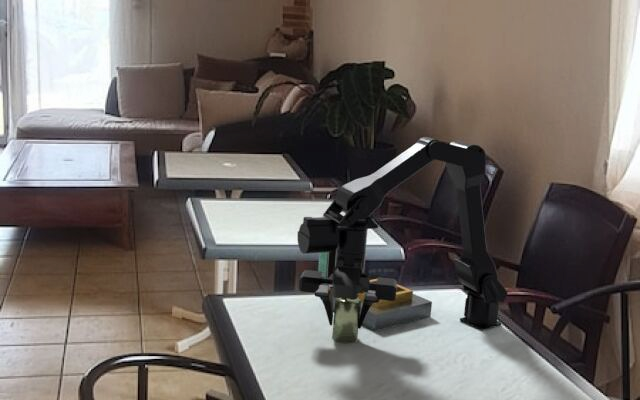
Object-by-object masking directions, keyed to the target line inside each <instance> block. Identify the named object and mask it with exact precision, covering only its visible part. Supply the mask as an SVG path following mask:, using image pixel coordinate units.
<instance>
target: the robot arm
mask: <svg viewBox="0 0 640 400" xmlns="http://www.w3.org/2000/svg"><path fill="white" fill-rule="evenodd" d="M433 161H440V162H443V163H445V165H446V170H447V173H448V174H449V176H450V178H451V179H452V182H453V183H454V185H455V188H456V189H455V190H456V198H457V199H456V200H457V207H458V215H459V227H460V234H461V235H460V236H461V243H462V252H461V254H460V257H458V258H454V259H453V262H454V266H455V274H454V276H455V277H456V278H458V281H459V282H460V283H461V285H462V289H463V290H464V292H467V295H466V298H465V303H464V310H463V311H464V312H463V313H464V314H463V316H464V317H460V319H459V321H460V322H462V323H464V324H466V325H469V326H472V327H473V328H475V329H478V330H480V331H485V330H488V329H493V328H496V327H499V326H502V322H501V321H498V316H499V309H500V308H499V307H500V303H501V302H502V303H504V302H505V301H506V299H507V295H508V291H507V289H506V288H505V287H504V286H503V285H502V283H501V282H500V281H499V276H498V272H497V268H496V264H495V262H494V260H493V258H492V257H491V255H490V253H489V251H488V249H487V240H486V229H485V219H484V218H485V217H484V211H483V198H482V190H481V184H482V181H483V179H484V177H485V174H486V169H487V153H486V151H485V149H484V148H483V147H481V146H480V145H478V144H474V143H470V142H467V141H464V140H459V139H457V140H452V142H446V141H443V140H438V139H437V138H436V139H435V138H433V137H429V136H423V137H420V138H419V139H418V140H417V141H416V142H415V144H413V145H411V147H409V148H408V149H406V150H405V151H403V152H401V153H400V154H399V155H397V156H396V157H395V158H393V159H392V160H389V162H388V163H386V164H385V165H383V166H382V167H381V168H379V169H378V170H376V171H375V172H373V173H371V174H370V175H367V176H363V177H359V178H356V179H353V180H352V181H350V182H348V183H345V184H343V185H342V186H340V187H339V188H338V189H337V190H336V195H335V198H334V200H333V201H332V202H331V203H330V205H329V206H328V208H327V209H326V210H325V211H324V212H323V214H322V216H324V217H322V216H321V217H318V216H317V217H314V216H304V217H303V221H302V223H301V224H300V226H299V229H298V231H297V245H298V249H299V251H300V252H301V254H304V255H305V254H319V253H324V252H332V251H333V250H334V249H336V260H335V269H334V271H333V278H327V277H323V272H321V271H318V270H309V269H305V270H304V271H303V272H302V273H301V276H300V278H299V283H298V291H299V292H303V293H312V294H313V293H314V296H315V297H317V298H319V299H320V300H321V302H322V304H323V306H324V309H325V313H326V316H327V317H326V318H327V320H328V323H329V326H332V327H333V322H334V310H333V297H335V298H348V299H350V300H355V299H357V298H358V293H363V292H365V296H364V301H363V305H362V310H361V314H360V319H359V325H358V330H361V328H362V326H363V325H362V323H363V321H364V319H365V316H366V314H367V312H368V310H369V308H370V307H371V305H372V304H373V303H378V302H379V300H388V301H394V300H395V298H396V289H397V284H398V281H397V280H396V279H395V278H389V277H380V276H378V277H377V278H376V279H377V283H376V282H370V280H371V275H370V273H365V265H366V253H367V242H368V241H367V240H368V239H367V237H368V230H373V229H375V230H376V229H378V228H379V225H378V224H377V223H376V222H375V221H374V219H373V218H372V216H371V215H372V214H373V213H374V212H375V211H376V210H377V209H378V208H379V207H380V206H381V204H382V203H383V201H384V199H385V197H386V196H387V195H388V194H389V193H390V192H391V191H392V190H394V189H396V188H397V187H399V186H400V185H402V184H403V183H404V182H405V181H407V180H408V179H410V178H411V177H412V176H414V175H415V174H417V173H418V172H420V171H421V170H422V169H424V168H426V166H428V165H429V164H430V163H432V162H433ZM339 213H340V214H339ZM342 213H344V215H343V214H342Z"/></svg>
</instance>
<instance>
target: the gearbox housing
mask: <svg viewBox="0 0 640 400" xmlns="http://www.w3.org/2000/svg"><path fill="white" fill-rule="evenodd" d="M370 282H376V283H377V278H375V279H373V278H372V279H370ZM364 296H365V292H363V293H358V298H359V299H360V300H361V307H360V314H361V310H362V305H363V301H364ZM335 299H336V298H335V297H333V311H334V310H335ZM432 305H433V302H432V301H431V300H429V299H426V298H424V297H421V296H419V295H418V294H415V293H414V290H412V289H409V288H407V287H404V286H402V285H400V284H398V283H397V289H396V298H395V300H394V301H388V300H379V302H378V303H373V304H372V305H371V307H370V308H369V310H368V312H367V314H366V316H365V319H364V321H363V323H362V326H364V327H366V328H368V329H370V330H373V331H380V330H384V329H389V328H392V327H397V326H399V325H400V326H401V325H405V324H408V323H412V322H416V321H420V320H421V321H422V320H425V319H428V318H431V316H432V307H433V306H432ZM359 319H360V317H359Z"/></svg>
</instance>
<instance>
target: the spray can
mask: <svg viewBox="0 0 640 400" xmlns="http://www.w3.org/2000/svg"><path fill="white" fill-rule="evenodd" d="M339 214H341V213H339ZM321 217H324V216H323V215H322V216H321ZM318 254H319V255H318V270H317V271H321V272H323V277H327V278H333V271H334V269H335V260H336V249H334V250H333V251H332V252H324V253H318Z"/></svg>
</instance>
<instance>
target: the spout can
mask: <svg viewBox="0 0 640 400" xmlns="http://www.w3.org/2000/svg"><path fill="white" fill-rule="evenodd" d="M360 307H361V300H360V299H359V298H357V299H355V300H350V299H348V298H336V299H335V311H334V310H333V323H332V333H331V334H332V337H331V339H332V340H333V341H335V342H336V343H339V344H340V343H341V344H353V343H356V342H357V341H358V337H359V336H358V335H359V328H358V325H359V317H360Z"/></svg>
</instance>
